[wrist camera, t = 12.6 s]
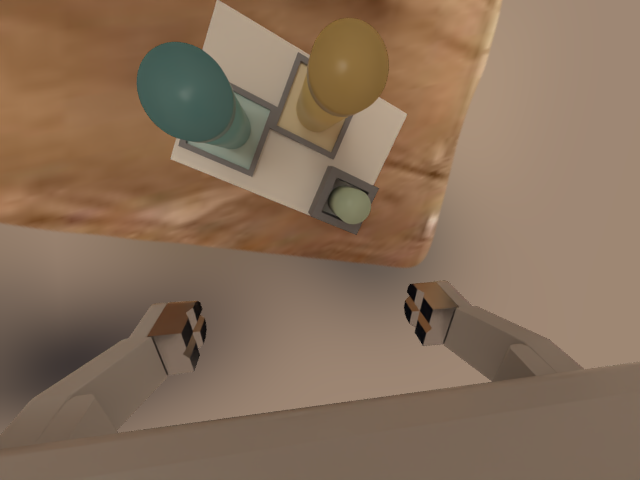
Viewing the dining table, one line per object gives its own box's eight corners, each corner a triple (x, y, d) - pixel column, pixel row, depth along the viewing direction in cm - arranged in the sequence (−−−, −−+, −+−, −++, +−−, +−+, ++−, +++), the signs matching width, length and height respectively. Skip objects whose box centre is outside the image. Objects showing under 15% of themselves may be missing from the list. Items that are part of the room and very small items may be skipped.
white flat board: (219, 7, 22) (210, -21, 19) (402, 116, 28) (420, 109, 24) (174, 159, 25) (159, 158, 22) (348, 229, 31) (357, 238, 27)
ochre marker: (308, 76, 24) (335, -4, 12) (345, 101, 25) (403, 52, 13) (287, 118, 24) (294, 83, 13) (324, 141, 26) (362, 128, 14)
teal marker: (213, 92, 23) (150, 21, 11) (258, 115, 24) (243, 72, 12) (199, 138, 24) (126, 116, 12) (243, 157, 25) (216, 155, 13)
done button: (335, 180, 26) (346, 183, 22) (362, 192, 27) (376, 197, 23) (323, 208, 27) (331, 216, 23) (349, 219, 27) (361, 229, 24)
